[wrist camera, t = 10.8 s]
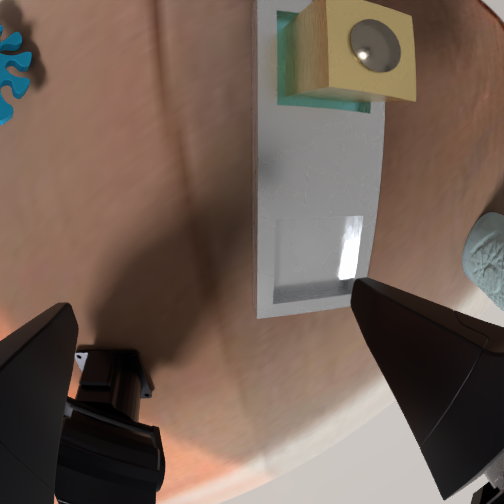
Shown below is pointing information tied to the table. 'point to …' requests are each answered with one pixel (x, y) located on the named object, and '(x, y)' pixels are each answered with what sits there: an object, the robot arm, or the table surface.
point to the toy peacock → (3, 110)
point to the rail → (307, 182)
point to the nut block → (350, 53)
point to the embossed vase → (486, 256)
